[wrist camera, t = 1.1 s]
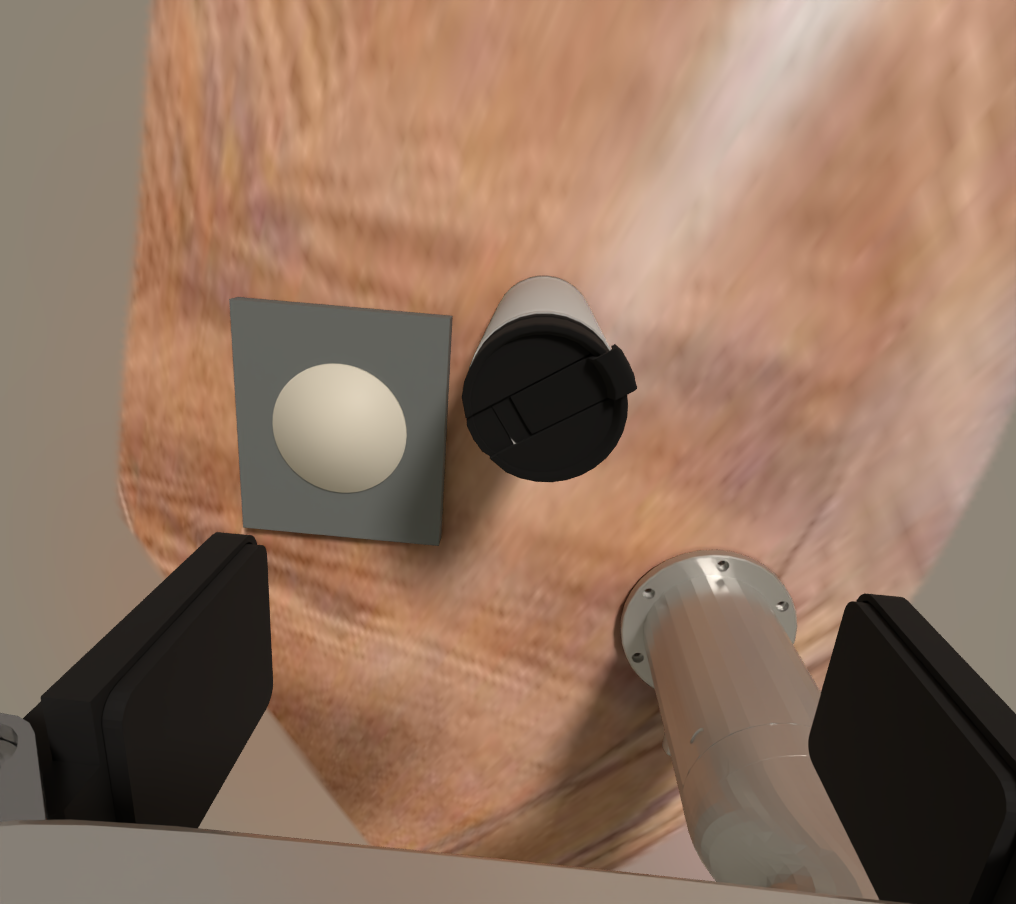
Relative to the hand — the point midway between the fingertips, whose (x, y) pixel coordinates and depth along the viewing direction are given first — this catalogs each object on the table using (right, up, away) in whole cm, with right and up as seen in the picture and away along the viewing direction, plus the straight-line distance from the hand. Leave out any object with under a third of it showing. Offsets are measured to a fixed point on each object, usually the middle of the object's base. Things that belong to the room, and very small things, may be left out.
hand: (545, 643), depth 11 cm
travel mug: (+2, +11, +32) cm, 34 cm away
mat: (-12, +5, +35) cm, 37 cm away
